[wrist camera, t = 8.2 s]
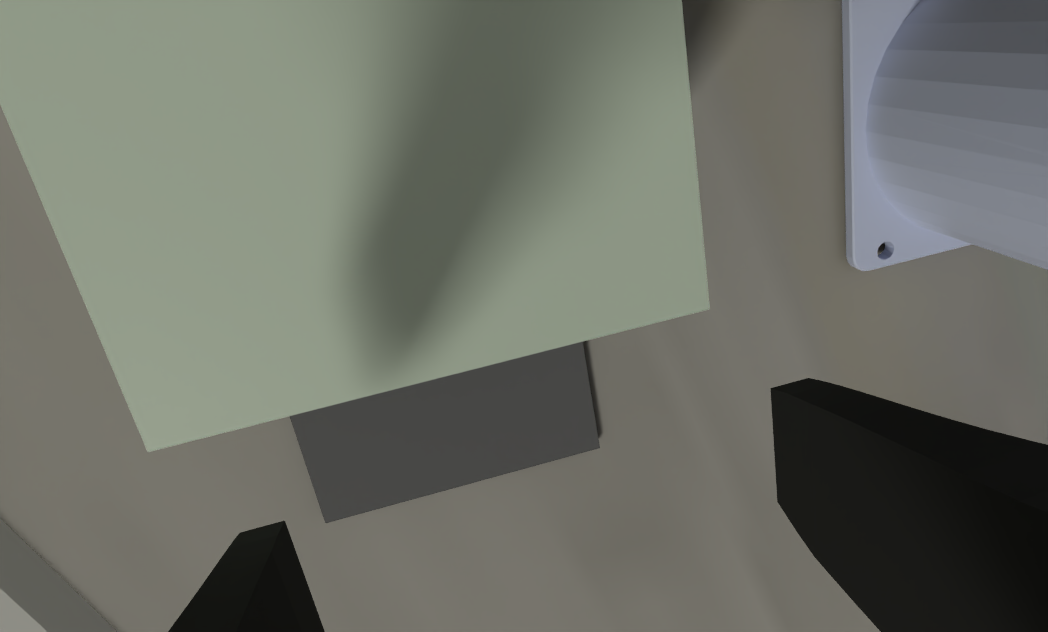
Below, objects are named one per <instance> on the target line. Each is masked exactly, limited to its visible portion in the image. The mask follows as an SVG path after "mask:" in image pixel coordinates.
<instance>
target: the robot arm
mask: <svg viewBox="0 0 1048 632" xmlns="http://www.w3.org/2000/svg"><path fill="white" fill-rule="evenodd" d="M842 34H843V92H844V150H845V209H846V256H847V261H848V262H849V264H850V265H851V266H853V267H855V268H857V269H859V270H862V271H870V270H873V269H877V268H881V267H885V266H889V265H893V264H897V263H901V262H905V261H909V260H913V259H917V258H921V257H924V256H928V255H932V254H936V253H940V252H944V251H948V250H952V249H956V248H960V247H964V246H968V245H972V244H973V245H976V246H979V247H982V248H985V249H988V250H991V251H994V252H997V253H1000V254H1003V255H1006V256H1009V257H1012V258H1015V259H1018V260H1021V261H1024V262H1027V263H1030V264H1032V265H1035V266H1038V267H1041V268H1044V269H1047V270H1048V0H842ZM884 242H885V248H884V250H883V252H882V253H881V254H879V255H878V254H877V251H878V248H879V246H880V245H881V244H882V243H884ZM771 402H772V418H773V435H774V451H775V467H776V484H777V500H778V503H779V505H780V506H781V508H782V509H783V511H784V512H785V514H786V516H787V517H788V519H789V520H790V522H791V523H792V525H793V526H794V528H795V529H796V531H797V532H798V534H799V535H800V537H801V538H802V540H803V541H804V542H805V544H806V545H807V547H808V548H809V550H810V551H811V552H812V554H813V555H814V557H815V558H816V559H817V560H818V561H819V562H820V564H821V565H822V566H823V567H824V568H825V569H826V571H827V572H828V573H829V574H830V575H831V576H832V577H833V579H834V580H835V581H836V582H837V583H838V584H839V585H840V587H841V588H842V589H843V590H844V591H845V592H846V593H847V594H848V596H849V597H850V598H851V599H852V600H853V601H854V602H855V603H856V605H857V606H858V607H859V608H860V609H861V610H862V611H863V612H864V613H865V615H866V616H867V617H868V618H869V619H870V620H871V621H872V622H873V624H874V625H875V626H876V627H877V628H878V629H879V630H880V631H881V632H1048V445H1046V444H1042V443H1037V442H1033V441H1029V440H1026V439H1022V438H1018V437H1014V436H1010V435H1006V434H1002V433H998V432H994V431H990V430H986V429H983V428H979V427H976V426H972V425H969V424H965V423H961V422H958V421H955V420H951V419H948V418H944V417H941V416H938V415H934V414H931V413H928V412H924V411H921V410H918V409H915V408H911V407H908V406H905V405H902V404H898V403H895V402H892V401H889V400H885V399H882V398H879V397H876V396H873V395H869V394H866V393H863V392H860V391H856V390H853V389H849V388H846V387H843V386H839V385H835V384H832V383H828V382H824V381H820V380H815V379H810V378H807V379H803V380H800V381H796V382H792V383H789V384H785V385H781V386H778V387H774V388H771ZM169 632H324V629H323V626H322V623H321V620H320V618H319V615H318V612H317V609H316V606H315V604H314V601H313V598H312V595H311V593H310V590H309V587H308V584H307V581H306V579H305V576H304V573H303V570H302V567H301V565H300V562H299V559H298V556H297V554H296V551H295V548H294V545H293V542H292V540H291V537H290V534H289V531H288V528H287V526H286V523H285V521H282V522H278V523H274V524H271V525H267V526H263V527H259V528H256V529H252V530H248V531H245V532H241V533H239V535H238V536H237V537H236V538H235V540H234V541H233V542H232V544H231V545H230V546H229V548H228V549H227V551H226V552H225V553H224V555H223V556H222V558H221V559H220V560H219V562H218V563H217V565H216V566H215V568H214V569H213V570H212V572H211V573H210V575H209V576H208V578H207V579H206V580H205V582H204V583H203V585H202V586H201V587H200V589H199V590H198V592H197V593H196V595H195V596H194V597H193V599H192V600H191V601H190V603H189V604H188V605H187V607H186V608H185V610H184V611H183V612H182V614H181V615H180V616H179V618H178V619H177V621H176V622H175V623H174V625H173V626H172V627H171V629H170V630H169Z"/></svg>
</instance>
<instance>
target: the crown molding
mask: <svg viewBox="0 0 1048 632" xmlns="http://www.w3.org/2000/svg"><path fill="white" fill-rule="evenodd" d="M0 632H117V631H116V630H115V629H114V628H113V627H112V626H111V625H110V624H109V623H108V622H107V621H106V620H105V619H104V618H103V617H101V616H100V615H99V614H98V613H97V612H96V611H95V610H94V609H93V608H92V607H91V606H90V605H89V604H88V603H87V602H86V601H85V600H84V599H83V598H82V597H81V596H80V595H79V594H78V593H77V592H76V591H75V590H74V589H73V588H72V587H71V586H69V585H68V584H67V583H66V582H65V581H64V580H63V579H62V578H61V577H60V576H59V575H58V574H57V573H56V572H55V571H54V570H53V569H52V568H51V567H50V566H49V565H48V564H47V563H46V562H45V561H44V560H43V559H42V558H41V557H40V556H39V555H37V554H36V553H35V552H34V551H33V550H32V549H31V548H30V547H29V546H28V545H27V544H26V543H25V542H24V541H23V540H22V539H21V538H20V537H19V536H18V535H17V534H16V533H15V532H14V531H13V530H12V529H11V528H10V527H9V526H8V525H7V524H5V523H4V522H3V521H2V520H1V519H0Z"/></svg>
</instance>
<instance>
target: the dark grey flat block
mask: <svg viewBox="0 0 1048 632" xmlns="http://www.w3.org/2000/svg"><path fill="white" fill-rule="evenodd" d="M290 419H291V422H292V425H293V428H294V431H295V434H296V437H297V440H298V442H299V445H300V448H301V451H302V454H303V457H304V460H305V463H306V466H307V469H308V472H309V475H310V478H311V481H312V484H313V487H314V490H315V493H316V496H317V499H318V502H319V505H320V508H321V511H322V514H323V517H324V520H325V523H328V522H332V521H335V520H339V519H343V518H346V517H350V516H354V515H357V514H361V513H365V512H368V511H372V510H375V509H379V508H383V507H386V506H390V505H394V504H397V503H401V502H405V501H408V500H412V499H416V498H419V497H423V496H426V495H430V494H434V493H437V492H441V491H445V490H448V489H452V488H456V487H459V486H463V485H467V484H470V483H474V482H477V481H481V480H485V479H488V478H492V477H496V476H499V475H503V474H507V473H510V472H514V471H518V470H521V469H525V468H528V467H532V466H536V465H539V464H543V463H547V462H550V461H554V460H558V459H561V458H565V457H569V456H572V455H576V454H579V453H583V452H587V451H590V450H594V449H598V448H600V446H599V440H598V433H597V427H596V421H595V415H594V409H593V403H592V396H591V390H590V384H589V378H588V372H587V365H586V359H585V353H584V347H583V342H579V343H575V344H571V345H567V346H563V347H559V348H555V349H551V350H547V351H543V352H540V353H536V354H532V355H528V356H524V357H520V358H516V359H512V360H508V361H504V362H500V363H496V364H492V365H488V366H484V367H481V368H477V369H473V370H469V371H465V372H461V373H457V374H453V375H449V376H445V377H441V378H437V379H433V380H429V381H426V382H422V383H418V384H414V385H410V386H406V387H402V388H398V389H394V390H390V391H386V392H382V393H378V394H374V395H371V396H367V397H363V398H359V399H355V400H351V401H347V402H343V403H339V404H335V405H331V406H327V407H323V408H319V409H316V410H312V411H308V412H304V413H300V414H296V415H292V416H290Z"/></svg>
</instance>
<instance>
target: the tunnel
mask: <svg viewBox="0 0 1048 632" xmlns="http://www.w3.org/2000/svg"><path fill="white" fill-rule="evenodd" d="M0 105H1V107H2V109H3V112H4V114H5V117H6V119H7V121H8V124H9V126H10V128H11V131H12V133H13V135H14V138H15V140H16V142H17V145H18V147H19V150H20V152H21V154H22V157H23V159H24V161H25V164H26V166H27V168H28V171H29V173H30V176H31V178H32V180H33V183H34V185H35V187H36V190H37V192H38V194H39V197H40V199H41V201H42V204H43V206H44V209H45V211H46V213H47V216H48V218H49V220H50V223H51V225H52V227H53V230H54V232H55V234H56V237H57V239H58V242H59V244H60V246H61V249H62V251H63V253H64V256H65V258H66V260H67V263H68V265H69V267H70V270H71V272H72V275H73V277H74V279H75V282H76V284H77V286H78V289H79V291H80V293H81V296H82V298H83V300H84V303H85V305H86V308H87V310H88V312H89V315H90V317H91V319H92V322H93V324H94V326H95V329H96V331H97V333H98V336H99V338H100V341H101V343H102V345H103V348H104V350H105V352H106V355H107V357H108V359H109V362H110V364H111V367H112V369H113V371H114V374H115V376H116V378H117V381H118V383H119V385H120V388H121V390H122V392H123V395H124V397H125V400H126V402H127V404H128V407H129V409H130V411H131V414H132V416H133V418H134V421H135V423H136V425H137V428H138V430H139V433H140V435H141V437H142V440H143V442H144V444H145V447H146V449H147V451H148V452H150V451H154V450H158V449H162V448H166V447H170V446H174V445H178V444H182V443H186V442H190V441H194V440H198V439H202V438H205V437H209V436H213V435H217V434H221V433H225V432H229V431H233V430H237V429H241V428H245V427H249V426H253V425H257V424H261V423H264V422H268V421H272V420H276V419H280V418H284V417H288V416H292V415H296V414H300V413H304V412H308V411H312V410H316V409H319V408H323V407H327V406H331V405H335V404H339V403H343V402H347V401H351V400H355V399H359V398H363V397H367V396H371V395H374V394H378V393H382V392H386V391H390V390H394V389H398V388H402V387H406V386H410V385H414V384H418V383H422V382H426V381H429V380H433V379H437V378H441V377H445V376H449V375H453V374H457V373H461V372H465V371H469V370H473V369H477V368H481V367H484V366H488V365H492V364H496V363H500V362H504V361H508V360H512V359H516V358H520V357H524V356H528V355H532V354H536V353H540V352H543V351H547V350H551V349H555V348H559V347H563V346H567V345H571V344H575V343H579V342H583V341H587V340H591V339H595V338H598V337H602V336H606V335H610V334H614V333H618V332H622V331H626V330H630V329H634V328H638V327H642V326H646V325H650V324H653V323H657V322H661V321H665V320H669V319H673V318H677V317H681V316H685V315H689V314H693V313H697V312H701V311H705V310H708V309H710V306H709V295H708V284H707V273H706V262H705V251H704V240H703V229H702V218H701V207H700V196H699V185H698V174H697V163H696V152H695V141H694V130H693V119H692V108H691V97H690V85H689V74H688V63H687V52H686V41H685V30H684V19H683V8H682V0H0Z"/></svg>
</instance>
